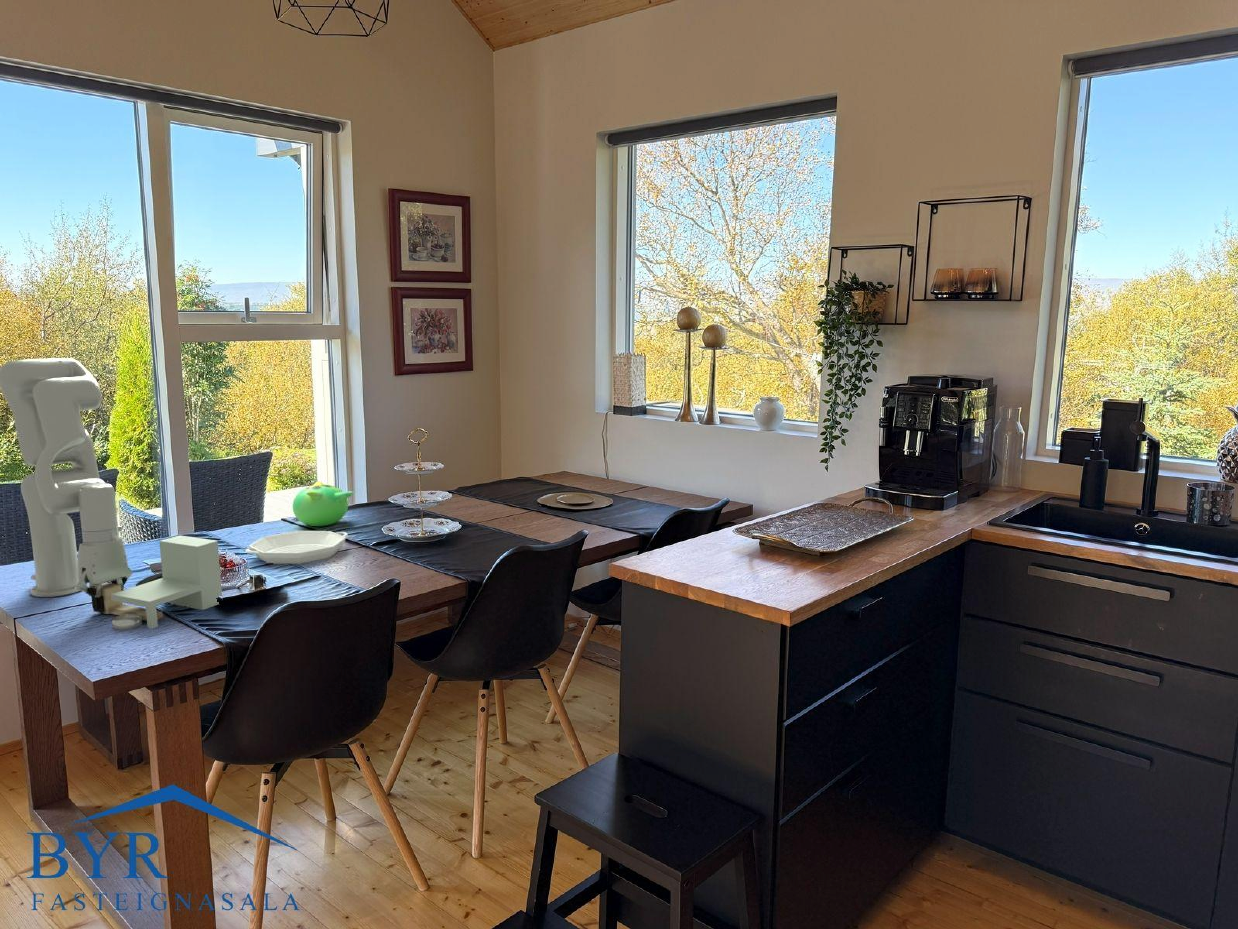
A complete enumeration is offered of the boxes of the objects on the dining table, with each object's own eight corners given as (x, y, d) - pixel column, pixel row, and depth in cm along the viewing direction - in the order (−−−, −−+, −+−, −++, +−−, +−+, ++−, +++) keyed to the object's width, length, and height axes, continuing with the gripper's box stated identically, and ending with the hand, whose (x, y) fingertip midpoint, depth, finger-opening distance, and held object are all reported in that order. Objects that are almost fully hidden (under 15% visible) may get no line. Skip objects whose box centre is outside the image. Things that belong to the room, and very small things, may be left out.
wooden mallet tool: (93, 611, 212) (91, 587, 211) (108, 606, 216) (106, 582, 215) (149, 622, 205) (147, 597, 204) (164, 616, 208) (162, 592, 207)
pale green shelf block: (113, 620, 208) (106, 555, 205) (185, 596, 226) (180, 535, 223) (152, 628, 202) (145, 561, 200) (222, 602, 220) (217, 540, 218)
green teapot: (338, 517, 312) (335, 476, 309) (358, 525, 299) (355, 483, 297) (287, 524, 300) (284, 482, 298) (305, 534, 288) (303, 490, 285)
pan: (329, 538, 284) (328, 525, 283) (366, 554, 266) (366, 540, 265) (230, 556, 263) (229, 542, 262) (264, 574, 245) (262, 559, 244)
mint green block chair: (127, 575, 235) (217, 550, 254) (129, 588, 236) (218, 562, 255) (141, 581, 230) (232, 555, 249) (143, 594, 231) (233, 568, 250)
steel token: (106, 628, 202) (106, 620, 202) (129, 620, 208) (128, 612, 208) (125, 632, 200) (125, 624, 200) (148, 623, 206) (147, 615, 205)
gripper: (121, 526, 219) (128, 596, 222) (56, 542, 203) (64, 617, 207) (142, 529, 216) (149, 600, 219) (78, 545, 201) (86, 622, 204)
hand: (108, 608), depth 213 cm, fingers closed on wooden mallet tool, 4 cm apart
